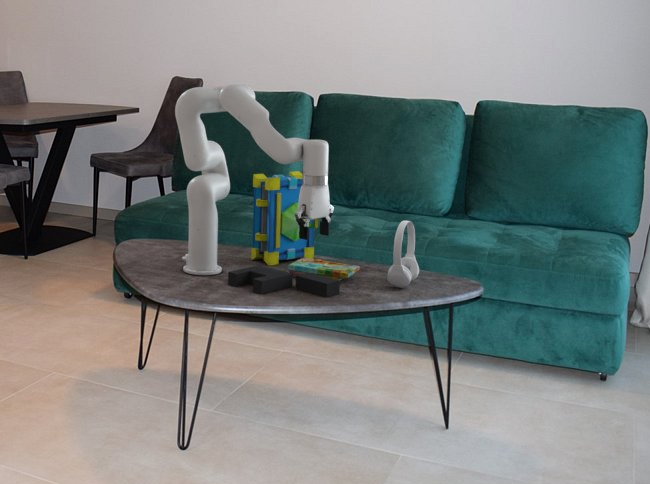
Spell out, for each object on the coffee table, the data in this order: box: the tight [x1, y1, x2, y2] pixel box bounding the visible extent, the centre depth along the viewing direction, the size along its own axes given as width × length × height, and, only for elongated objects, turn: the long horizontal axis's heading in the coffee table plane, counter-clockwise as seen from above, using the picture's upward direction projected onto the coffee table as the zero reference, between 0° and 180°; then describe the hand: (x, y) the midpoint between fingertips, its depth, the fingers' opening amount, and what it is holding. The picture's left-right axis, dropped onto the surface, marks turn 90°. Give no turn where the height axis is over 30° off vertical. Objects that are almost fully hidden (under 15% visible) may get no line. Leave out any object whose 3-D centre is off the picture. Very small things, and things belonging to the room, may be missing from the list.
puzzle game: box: [287, 257, 361, 281], centre depth 262 cm, size 12×5×20 cm
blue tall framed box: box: [250, 170, 319, 267], centre depth 285 cm, size 14×23×30 cm, turn 122°
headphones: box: [386, 220, 420, 289], centre depth 254 cm, size 7×18×20 cm, turn 151°
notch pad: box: [227, 264, 294, 295], centre depth 251 cm, size 14×14×4 cm
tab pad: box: [295, 273, 341, 298], centre depth 246 cm, size 12×6×4 cm, turn 42°
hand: (314, 236), depth 248 cm, fingers open, 9 cm apart
